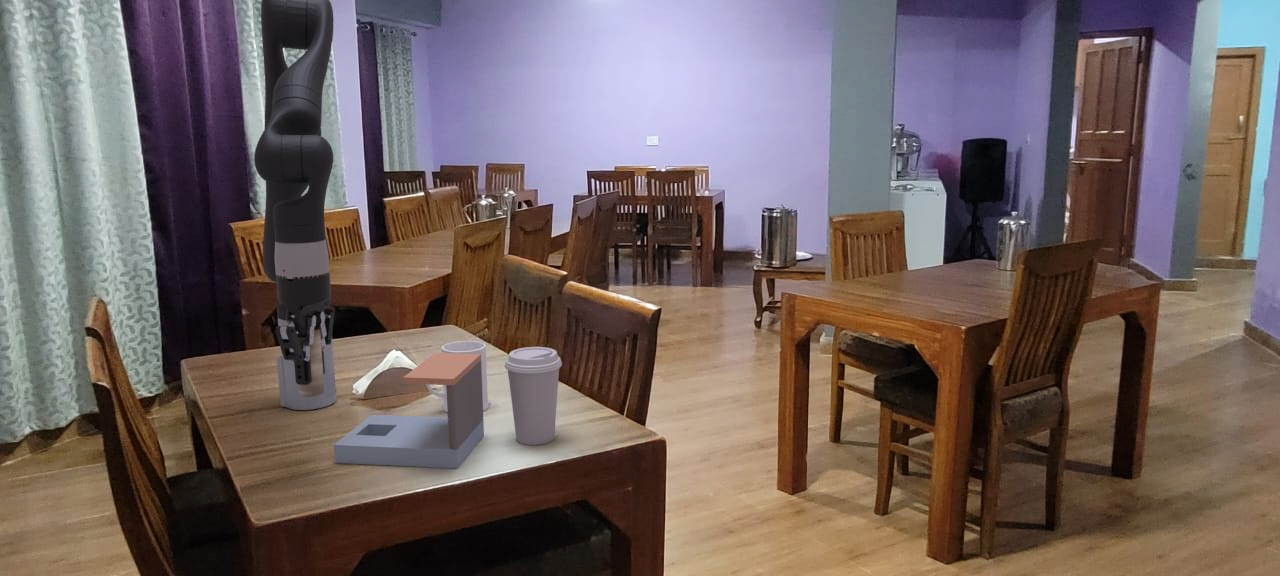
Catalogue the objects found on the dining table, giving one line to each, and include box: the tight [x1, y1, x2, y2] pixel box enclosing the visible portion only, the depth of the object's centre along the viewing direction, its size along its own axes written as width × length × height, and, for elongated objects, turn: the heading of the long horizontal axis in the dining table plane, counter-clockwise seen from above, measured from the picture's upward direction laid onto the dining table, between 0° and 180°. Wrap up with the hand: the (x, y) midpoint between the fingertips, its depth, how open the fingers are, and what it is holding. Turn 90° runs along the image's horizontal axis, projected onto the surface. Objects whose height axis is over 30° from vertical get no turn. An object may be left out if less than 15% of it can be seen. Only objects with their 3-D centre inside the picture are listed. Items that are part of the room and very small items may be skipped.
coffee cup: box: [504, 346, 563, 446], centre depth 142 cm, size 10×10×15 cm
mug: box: [425, 340, 490, 414], centre depth 157 cm, size 12×8×12 cm
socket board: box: [333, 352, 485, 469], centre depth 138 cm, size 20×14×14 cm
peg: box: [298, 329, 324, 397], centre depth 129 cm, size 4×4×10 cm
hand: (310, 379), depth 130 cm, fingers closed on peg, 3 cm apart
